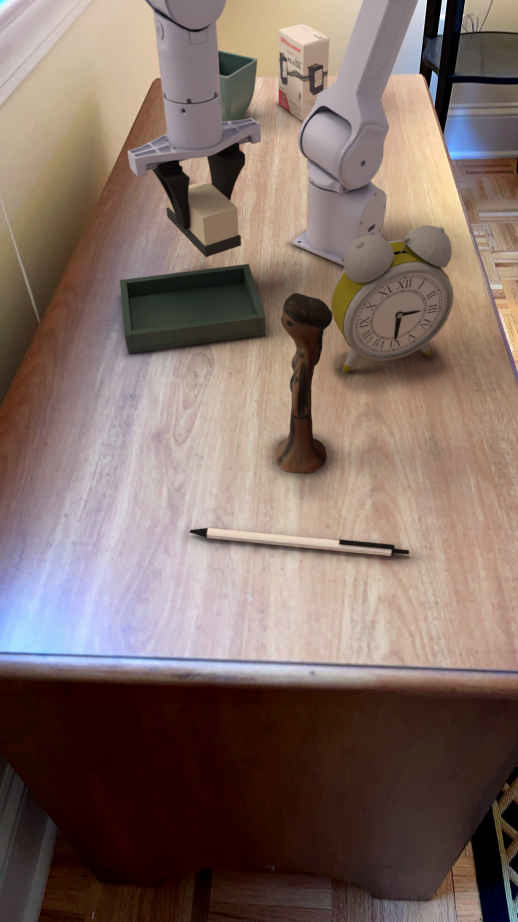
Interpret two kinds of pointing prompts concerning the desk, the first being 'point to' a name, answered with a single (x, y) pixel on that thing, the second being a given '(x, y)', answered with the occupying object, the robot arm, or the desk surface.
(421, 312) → the alarm clock
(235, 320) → the dark green tray
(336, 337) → the desk surface
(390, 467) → the desk surface
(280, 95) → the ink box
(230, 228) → the beige wooden block
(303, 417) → the figurine
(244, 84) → the flower pot
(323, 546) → the pen
